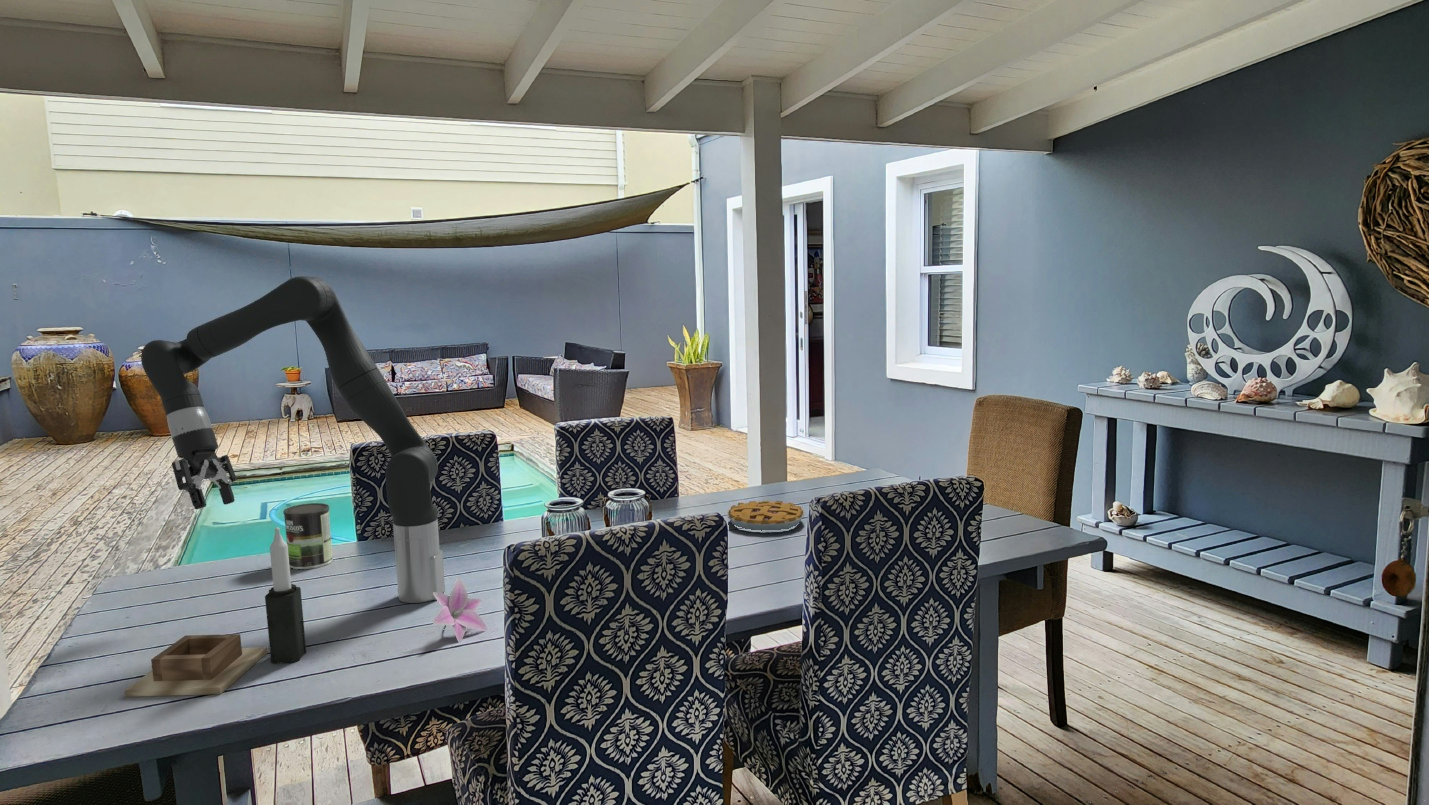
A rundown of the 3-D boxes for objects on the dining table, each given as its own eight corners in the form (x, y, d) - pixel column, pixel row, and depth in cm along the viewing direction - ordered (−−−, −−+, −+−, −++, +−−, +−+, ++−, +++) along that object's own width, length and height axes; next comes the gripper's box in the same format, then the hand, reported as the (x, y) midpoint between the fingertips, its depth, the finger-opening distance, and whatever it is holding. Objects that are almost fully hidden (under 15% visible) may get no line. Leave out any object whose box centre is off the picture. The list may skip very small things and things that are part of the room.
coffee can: (306, 572, 206) (301, 515, 204) (279, 566, 211) (273, 511, 209) (342, 559, 215) (338, 505, 213) (315, 554, 220) (310, 501, 218)
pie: (721, 534, 232) (721, 516, 231) (733, 512, 253) (732, 496, 252) (802, 537, 228) (802, 519, 227) (806, 515, 249) (806, 498, 249)
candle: (280, 652, 161) (268, 524, 158) (308, 650, 162) (296, 523, 158) (268, 664, 156) (256, 532, 153) (297, 662, 157) (285, 531, 153)
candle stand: (267, 653, 161) (264, 627, 160) (220, 694, 145) (217, 665, 144) (181, 655, 161) (178, 629, 160) (125, 696, 145) (121, 667, 144)
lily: (423, 654, 162) (442, 615, 159) (412, 612, 171) (429, 574, 168) (482, 656, 169) (501, 619, 167) (468, 616, 178) (485, 580, 175)
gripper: (182, 427, 171) (207, 504, 170) (230, 425, 185) (253, 496, 184) (150, 439, 172) (174, 515, 171) (200, 436, 186) (223, 507, 185)
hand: (215, 505), depth 178 cm, fingers open, 8 cm apart
